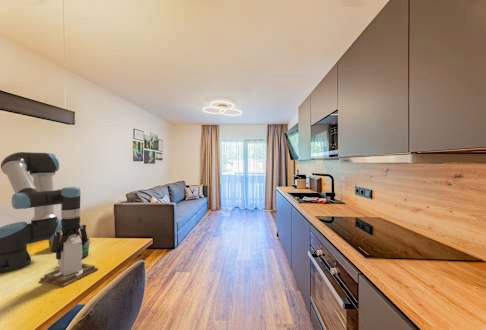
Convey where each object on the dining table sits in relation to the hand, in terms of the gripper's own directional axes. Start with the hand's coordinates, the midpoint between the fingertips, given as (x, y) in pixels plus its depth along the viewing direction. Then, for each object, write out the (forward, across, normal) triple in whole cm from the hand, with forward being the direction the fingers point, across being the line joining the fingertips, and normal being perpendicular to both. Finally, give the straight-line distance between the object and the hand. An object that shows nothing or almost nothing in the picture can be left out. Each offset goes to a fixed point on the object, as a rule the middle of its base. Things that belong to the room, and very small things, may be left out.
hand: (70, 260), depth 105 cm
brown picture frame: (+7, 0, 0) cm, 7 cm away
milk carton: (+5, 0, 0) cm, 5 cm away
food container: (+7, +16, +15) cm, 23 cm away
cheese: (+8, +24, +46) cm, 52 cm away
